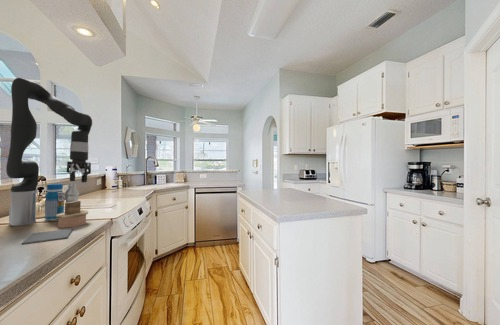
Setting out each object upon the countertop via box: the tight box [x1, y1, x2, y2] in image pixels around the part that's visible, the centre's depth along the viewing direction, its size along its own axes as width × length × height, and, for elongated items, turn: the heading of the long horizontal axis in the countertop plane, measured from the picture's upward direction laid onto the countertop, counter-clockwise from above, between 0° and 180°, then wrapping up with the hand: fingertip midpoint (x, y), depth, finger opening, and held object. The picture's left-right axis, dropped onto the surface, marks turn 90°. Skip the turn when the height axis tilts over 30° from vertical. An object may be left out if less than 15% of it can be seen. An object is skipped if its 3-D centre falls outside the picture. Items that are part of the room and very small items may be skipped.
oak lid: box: [56, 200, 89, 218], centre depth 114 cm, size 13×13×7 cm
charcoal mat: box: [21, 228, 74, 245], centre depth 95 cm, size 14×14×1 cm
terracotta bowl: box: [58, 214, 87, 229], centre depth 114 cm, size 11×11×5 cm
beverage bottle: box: [44, 183, 65, 221], centre depth 124 cm, size 8×8×20 cm
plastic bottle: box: [64, 183, 80, 203], centre depth 126 cm, size 6×7×20 cm
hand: (78, 181), depth 114 cm, fingers open, 8 cm apart
